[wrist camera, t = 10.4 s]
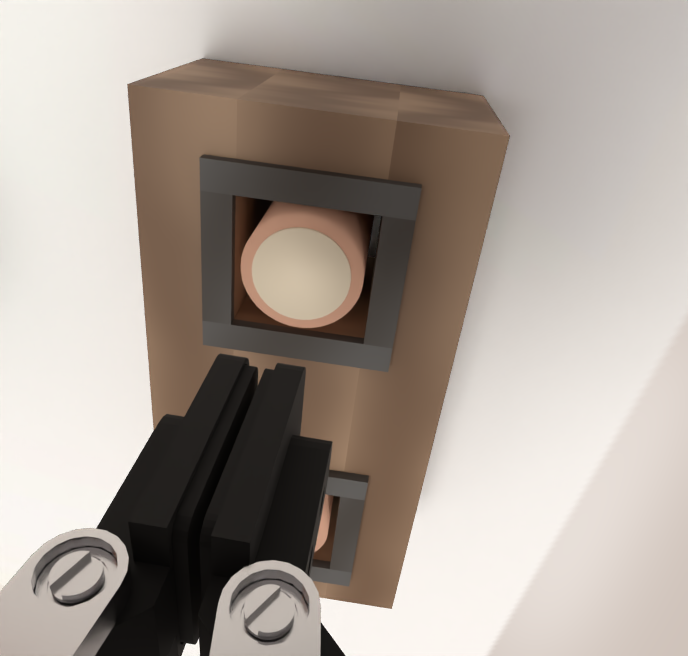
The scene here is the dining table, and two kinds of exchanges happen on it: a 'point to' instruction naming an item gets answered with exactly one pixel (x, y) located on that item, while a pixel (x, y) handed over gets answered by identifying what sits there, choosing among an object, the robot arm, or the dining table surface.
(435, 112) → the walnut block
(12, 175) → the dining table surface
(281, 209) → the peg
